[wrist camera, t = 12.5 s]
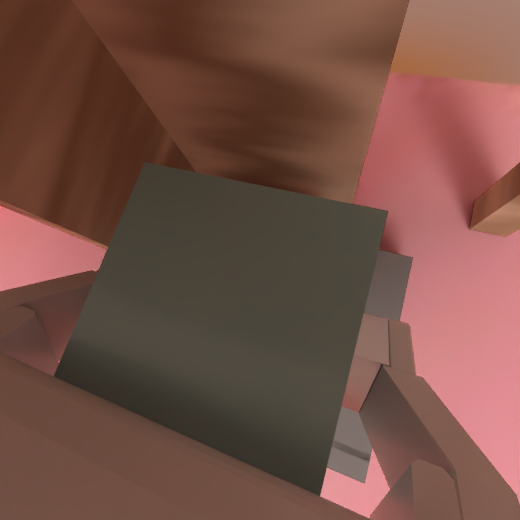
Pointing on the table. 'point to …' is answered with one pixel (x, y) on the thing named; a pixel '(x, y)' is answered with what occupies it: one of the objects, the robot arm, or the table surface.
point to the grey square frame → (349, 423)
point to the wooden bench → (194, 101)
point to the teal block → (230, 316)
